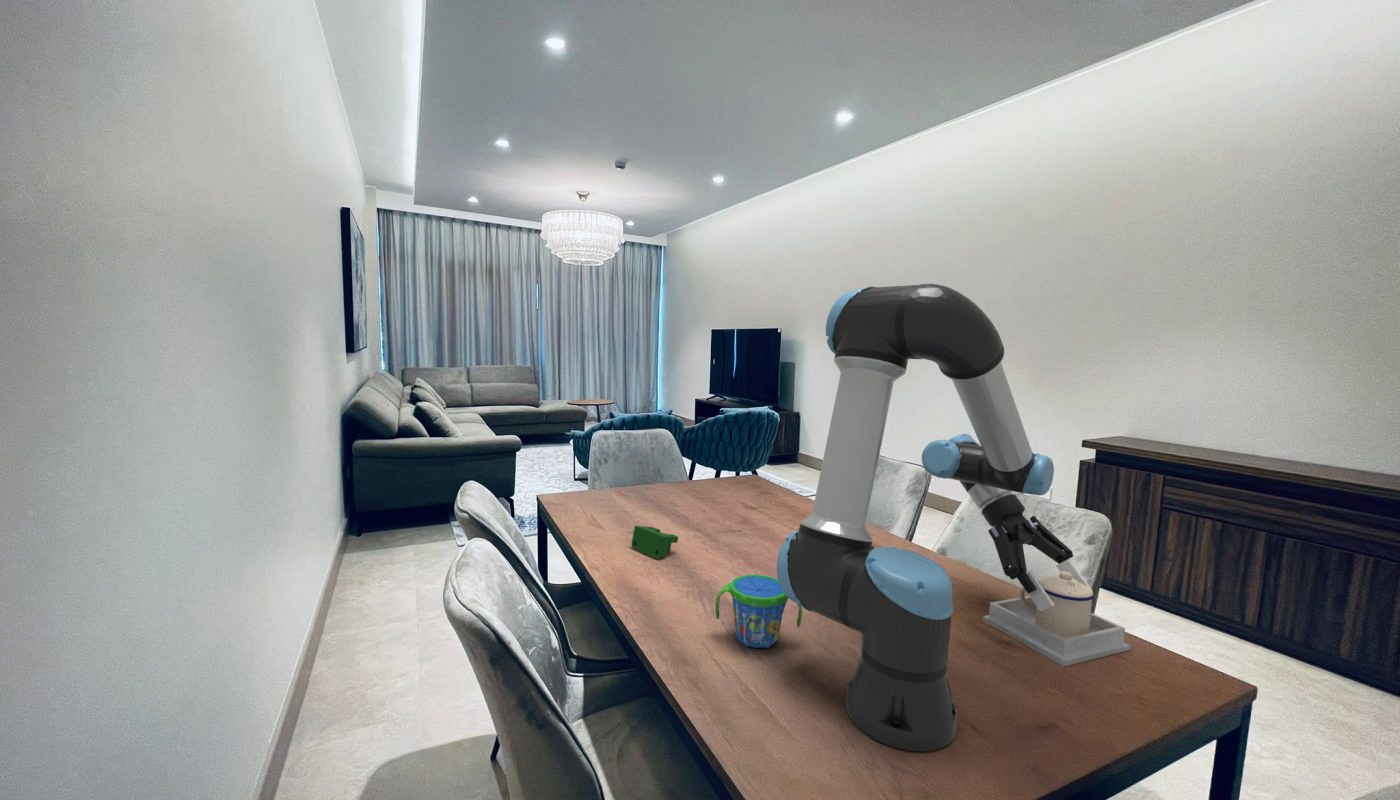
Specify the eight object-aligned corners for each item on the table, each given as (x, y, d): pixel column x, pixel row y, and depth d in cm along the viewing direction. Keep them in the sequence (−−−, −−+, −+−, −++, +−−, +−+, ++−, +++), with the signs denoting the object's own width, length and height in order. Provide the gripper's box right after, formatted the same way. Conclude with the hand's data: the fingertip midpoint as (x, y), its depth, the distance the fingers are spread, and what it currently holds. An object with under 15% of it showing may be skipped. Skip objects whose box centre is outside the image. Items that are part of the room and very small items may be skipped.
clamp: (668, 570, 145) (684, 541, 143) (650, 571, 140) (667, 541, 138) (644, 541, 153) (659, 513, 151) (627, 540, 148) (642, 512, 146)
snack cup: (801, 631, 107) (804, 579, 106) (798, 661, 96) (801, 603, 96) (720, 620, 110) (722, 569, 109) (708, 647, 100) (710, 592, 99)
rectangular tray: (1064, 666, 97) (1066, 644, 97) (982, 620, 113) (984, 601, 113) (1129, 650, 104) (1131, 629, 103) (1043, 609, 119) (1045, 590, 119)
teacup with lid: (1095, 634, 107) (1100, 574, 106) (1083, 650, 101) (1088, 586, 100) (1025, 612, 116) (1029, 556, 115) (1009, 625, 109) (1014, 566, 108)
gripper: (1017, 504, 126) (1084, 595, 115) (946, 518, 114) (1013, 623, 102) (1043, 486, 121) (1116, 579, 110) (972, 499, 109) (1047, 606, 97)
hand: (1067, 600), depth 106 cm, fingers open, 13 cm apart
